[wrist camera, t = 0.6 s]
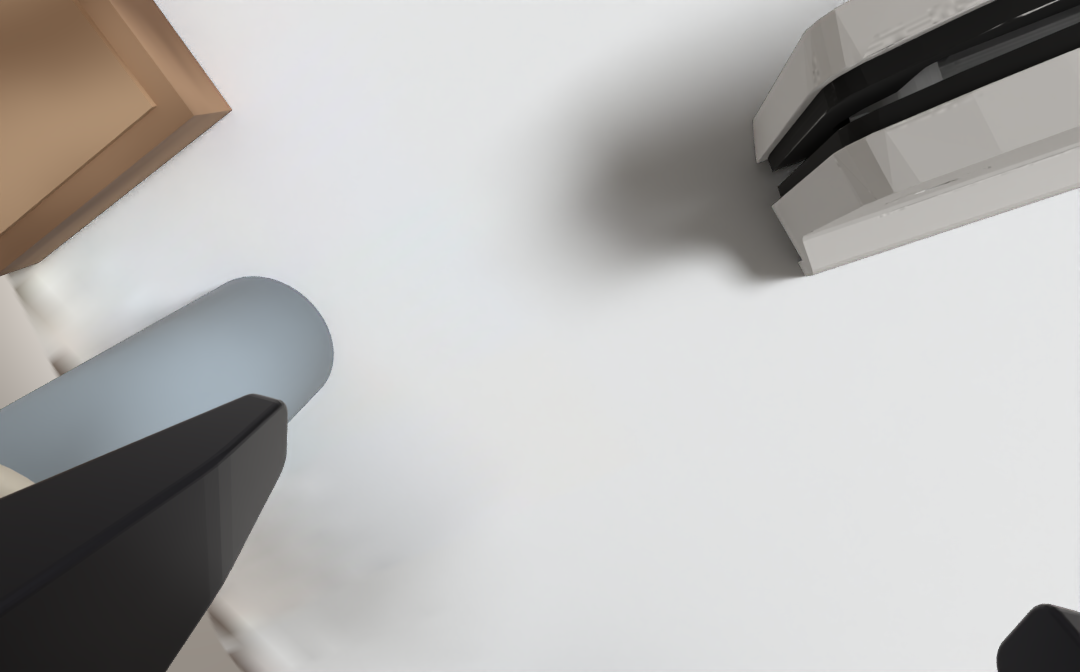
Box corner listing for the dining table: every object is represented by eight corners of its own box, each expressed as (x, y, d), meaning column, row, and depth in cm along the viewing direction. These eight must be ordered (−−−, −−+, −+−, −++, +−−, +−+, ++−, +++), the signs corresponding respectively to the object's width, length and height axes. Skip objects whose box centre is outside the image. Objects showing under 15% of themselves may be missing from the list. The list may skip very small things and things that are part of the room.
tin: (297, 429, 26) (44, 706, 15) (180, 353, 26) (-171, 583, 15) (359, 331, 24) (120, 568, 13) (233, 246, 24) (-127, 419, 13)
